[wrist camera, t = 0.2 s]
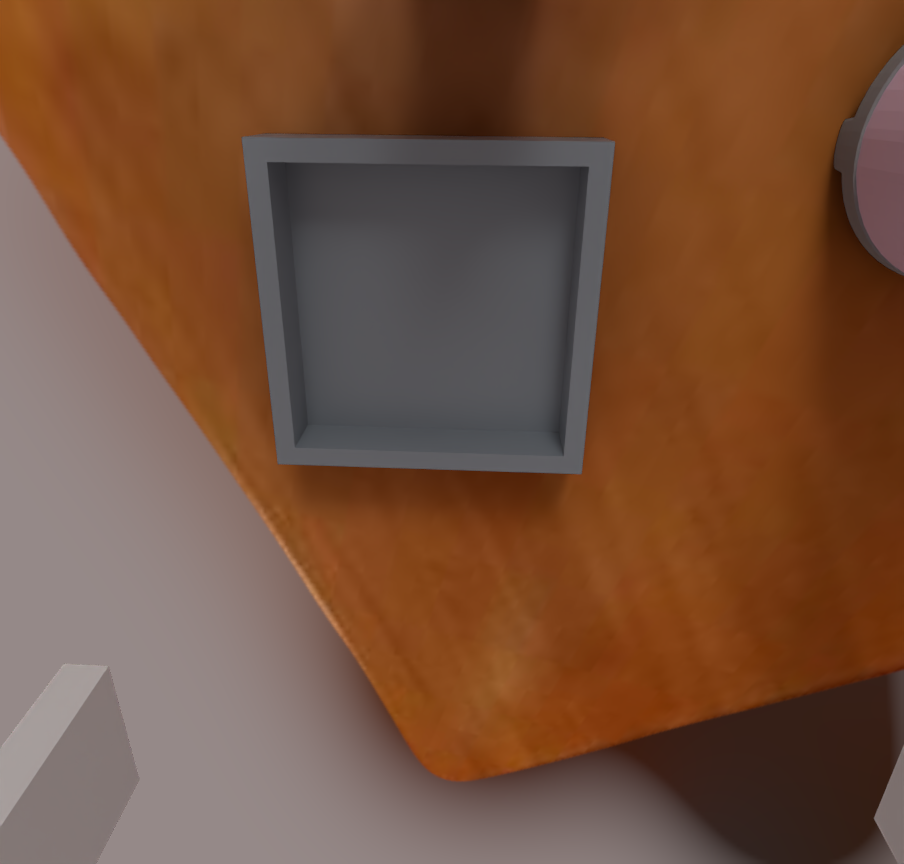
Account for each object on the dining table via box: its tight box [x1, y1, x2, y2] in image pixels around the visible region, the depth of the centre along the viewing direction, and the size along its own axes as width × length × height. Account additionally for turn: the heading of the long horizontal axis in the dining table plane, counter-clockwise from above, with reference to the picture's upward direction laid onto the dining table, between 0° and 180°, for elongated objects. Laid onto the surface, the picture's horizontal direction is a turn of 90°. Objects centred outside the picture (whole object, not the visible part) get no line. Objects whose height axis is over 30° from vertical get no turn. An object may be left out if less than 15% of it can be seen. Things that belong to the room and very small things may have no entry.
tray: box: [242, 133, 615, 474], centre depth 35 cm, size 16×16×4 cm
